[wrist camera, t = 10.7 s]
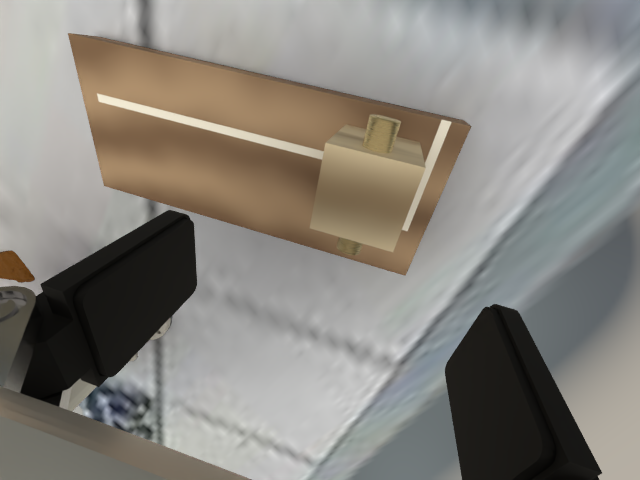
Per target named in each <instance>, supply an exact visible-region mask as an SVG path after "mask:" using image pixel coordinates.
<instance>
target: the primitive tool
mask: <svg viewBox="0 0 640 480" xmlns="http://www.w3.org/2000/svg"><path fill="white" fill-rule="evenodd" d="M0 278H2V279H9V280H10V279H12V280H16V281H18V282H31V281H33V280H35V278H34V276H33V275H32V274H31V272H30V271H29V270H28V268H27V267H26V266H25V264H24V263H23V262H22V260H21V259H20V258H19V257H18V256H17V254H16V253H15V252H13V251H5V252H0Z"/></svg>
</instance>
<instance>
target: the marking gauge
mask: <svg viewBox="0 0 640 480" xmlns="http://www.w3.org/2000/svg"><path fill="white" fill-rule="evenodd" d="M400 124H401V121H399V120H397V119H394V118H390V117H386V116H382V115H375V114H371V115H370V117H369V121H368V124H367V128H366V129H363V128H358V127H354V126H350V125H345V126H344V127H343V128H341V129H340V130H339V131H338V132H337V133H336V134H335V135H334V136H332V137H331V138H330V139H329V140H328V141H327V142H326V143H325V148H324V153H323V159H322V164H321V169H320V175H319V180H318V185H317V191H316V196H315V202H314V207H313V212H312V218H311V223H310V229H314V230H317V231H321V232H324V233H328V234H331V235H335V236H338V237H339V238H338V242H337V248H338V250H339V251H340V252H342V253H344V254H347V255H358V254H359V253H360V252H361V249H362V246H363V244H366V245H369V246H373V247H376V248H380V249H383V250H386V251H390V252H393V251H394V248H395V246H396V243H397V241H398V238H399V236H400V233H401V230H402V228H403V225H404V223H405V220H406V218H407V215H408V212H409V210H410V207H411V205H412V202H413V199H414V197H415V194H416V192H417V189H418V187H419V184H420V181H421V179H422V176H423V174H424V171H425V169H426V167H425V162H424V158H423V154H422V149H421V145H420V142H416V141H412V140H408V139H404V138H400V137H397V134H398V131H399V127H400Z"/></svg>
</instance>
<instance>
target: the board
mask: <svg viewBox="0 0 640 480" xmlns="http://www.w3.org/2000/svg"><path fill="white" fill-rule="evenodd" d="M68 35H69V40H70V44H71V48H72V52H73V56H74V61H75V65H76V69H77V73H78V77H79V82H80V86H81V90H82V94H83V99H84V103H85V107H86V111H87V115H88V120H89V124H90V128H91V132H92V136H93V141H94V145H95V149H96V153H97V157H98V162H99V166H100V170H101V174H102V178H103V183H104V186H107V187H110V188H113V189H117V190H120V191H123V192H127V193H130V194H133V195H137V196H140V197H143V198H147V199H150V200H153V201H157V202H160V203H164V204H167V205H170V206H174V207H177V208H180V209H184V210H187V211H190V212H194V213H197V214H200V215H204V216H207V217H211V218H214V219H217V220H221V221H224V222H227V223H231V224H234V225H237V226H241V227H244V228H247V229H251V230H254V231H258V232H261V233H264V234H268V235H271V236H274V237H278V238H281V239H284V240H288V241H291V242H294V243H298V244H301V245H304V246H308V247H311V248H315V249H318V250H321V251H325V252H328V253H331V254H335V255H338V256H341V257H345V258H348V259H351V260H355V261H358V262H362V263H365V264H368V265H372V266H375V267H378V268H382V269H385V270H388V271H392V272H395V273H398V274H402V275H406V273H407V271H408V268H409V266H410V264H411V262H412V259H413V257H414V255H415V252H416V250H417V248H418V246H419V243H420V241H421V239H422V237H423V234H424V232H425V230H426V228H427V225H428V223H429V221H430V218H431V216H432V214H433V212H434V209H435V207H436V205H437V203H438V200H439V198H440V196H441V194H442V191H443V189H444V187H445V185H446V182H447V180H448V178H449V175H450V173H451V171H452V169H453V166H454V164H455V162H456V160H457V157H458V155H459V153H460V151H461V148H462V146H463V144H464V141H465V139H466V137H467V135H468V132H469V130H470V128H471V126H470V125H469V124H468V123H466V122H465V121H463V120H459V119H454V118H450V117H446V116H441V115H437V114H433V113H428V112H424V111H420V110H415V109H411V108H407V107H402V106H398V105H393V104H389V103H385V102H380V101H376V100H372V99H367V98H363V97H359V96H354V95H350V94H346V93H341V92H337V91H332V90H328V89H324V88H319V87H315V86H311V85H306V84H302V83H298V82H293V81H289V80H285V79H280V78H276V77H272V76H267V75H263V74H258V73H254V72H250V71H245V70H241V69H237V68H232V67H228V66H224V65H219V64H215V63H211V62H206V61H202V60H198V59H193V58H189V57H184V56H180V55H176V54H171V53H167V52H163V51H158V50H154V49H150V48H145V47H141V46H137V45H132V44H128V43H123V42H119V41H115V40H110V39H106V38H102V37H96V36H88V35H79V34H71V33H68ZM371 114H375V115H382V116H386V117H390V118H394V119H397V120H399V121H401V124H400V127H399V131H398V134H397V137H400V138H404V139H408V140H412V141H416V142H420V145H421V149H422V154H423V158H424V162H425V167H426V169H425V171H424V174H423V176H422V179H421V181H420V184H419V187H418V189H417V192H416V194H415V197H414V199H413V202H412V205H411V207H410V210H409V212H408V215H407V218H406V220H405V223H404V225H403V228H402V230H401V233H400V236H399V238H398V241H397V243H396V246H395V248H394V251H393V252H390V251H386V250H383V249H380V248H376V247H373V246H369V245H366V244H363V246H362V249H361V252H360V253H359V254H358V255H347V254H344V253H342V252H340V251H339V250H338V248H337V242H338V238H339V237H338V236H335V235H331V234H328V233H324V232H321V231H317V230H314V229H310V223H311V218H312V212H313V207H314V202H315V196H316V191H317V185H318V180H319V175H320V169H321V164H322V159H323V153H324V148H325V143H326V142H327V141H328V140H329V139H330V138H331V137H332V136H334V135H335V134H336V133H337V132H338V131H339V130H340V129H341V128H343V127H344V126H345V125H350V126H354V127H358V128H363V129H366V128H367V124H368V121H369V117H370V115H371Z"/></svg>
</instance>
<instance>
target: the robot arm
mask: <svg viewBox="0 0 640 480" xmlns="http://www.w3.org/2000/svg"><path fill="white" fill-rule="evenodd" d="M40 285H41V287H42V289H43V292H42V293H41V294H39V295H37V296H36V295H35V294H34V292H33V291H32V290H30V289H28V288H25V287H18V286H8V287H0V480H251V479H249V478H246V477H243V476H241V475H238V474H236V473H233V472H230V471H228V470H225V469H222V468H220V467H217V466H215V465H212V464H209V463H207V462H204V461H202V460H199V459H196V458H194V457H191V456H189V455H186V454H183V453H181V452H178V451H175V450H173V449H170V448H167V447H165V446H162V445H159V444H157V443H154V442H152V441H149V440H146V439H144V438H141V437H138V436H136V435H133V434H130V433H128V432H125V431H122V430H120V429H117V428H114V427H112V426H109V425H106V424H104V423H101V422H98V421H96V420H93V419H91V418H88V417H85V416H83V415H80V414H77V413H74V412H72V411H73V410H74V409H75V408H76V407H77V406H78V405H79V404H80V403H81V402H82V401H83V400H84V399H85V398H86V397H87V396H88V395H89V394H90V393H91V392H92V391H93V390H94V389H95V388H96V387H97V386H98V387H99V386H100V385H101V384H102V383H103V382H104V381H105V380H106V379H107V378H108V377H113V376H114V375H116V374H117V373H118V372H119V371H120V370H121V369H122V368H123V367H124V366H125V365H126V364H127V363H128V362H129V361H134V360H135V359H137V357H138V353H137V352H138V351H139V350H140V349H141V348H142V347H143V346H144V345H145V344H146V343H147V342H148V341H149V340H155V339H158V338H160V337H161V336H163V335H164V333H165V332H166V331H167V330H168V329H169V327H170V322H171V318H170V317H171V316H172V315H173V314H174V313H175V312H176V311H177V310H178V309H179V308H180V307H181V306H182V305H183V303H184V302H185V301H186V300H187V299H188V298H189V297H190V296H191V295H192V294H193V293H194V291H195V289H196V286H197V274H196V255H195V236H194V223H193V221H191V220H190V218H189V216H188V215H186V214H183V213H179V212H176V211H172V210H168V211H166V212H164V213H163V214H161V215H159V216H157V217H156V218H154V219H152V220H151V221H149V222H147V223H145V224H144V225H142V226H140V227H138V228H137V229H135V230H133V231H132V232H130V233H128V234H126V235H125V236H123V237H121V238H119V239H118V240H116V241H114V242H113V243H111V244H109V245H107V246H106V247H104V248H102V249H100V250H99V251H97V252H95V253H94V254H92V255H90V256H88V257H87V258H85V259H83V260H82V261H80V262H78V263H76V264H75V265H73V266H71V267H69V268H68V269H66V270H64V271H63V272H61V273H59V274H57V275H56V276H54V277H52V278H50V279H49V280H47V281H45V282H44V283H42V284H40ZM445 376H446V383H447V389H448V395H449V401H450V407H451V413H452V419H453V425H454V431H455V438H456V444H457V450H458V456H459V463H460V469H461V475H462V480H599V478H598V475H600V474H601V473H602V472H601V470H600V468H599V466H598V464H597V462H596V460H595V458H594V456H593V455H592V453H591V451H590V449H589V447H588V445H587V443H586V441H585V439H584V437H583V435H582V433H581V431H580V429H579V428H578V426H577V424H576V422H575V420H574V418H573V416H572V414H571V412H570V410H569V408H568V406H567V404H566V402H565V400H564V399H563V397H562V395H561V393H560V391H559V389H558V387H557V385H556V383H555V381H554V379H553V378H552V375H551V373H550V372H549V370H548V368H547V366H546V364H545V362H544V360H543V358H542V356H541V354H540V352H539V350H538V349H537V347H536V345H535V343H534V341H533V339H532V337H531V335H530V333H529V331H528V329H527V327H526V325H525V323H524V321H523V320H522V318H521V316H520V314H519V312H518V311H516V310H514V309H511V308H507V307H504V306H500V305H497V304H493V305H492V306H490V307H485V308H484V309H483V310H482V311H481V313H480V314H479V316H478V317H477V319H476V320H475V322H474V323H473V325H472V326H471V328H470V329H469V331H468V332H467V334H466V335H465V337H464V338H463V340H462V341H461V343H460V344H459V346H458V347H457V349H456V350H455V352H454V353H453V354H452V356H451V357H450V359H449V360H448V362H447V364H446V368H445Z"/></svg>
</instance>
